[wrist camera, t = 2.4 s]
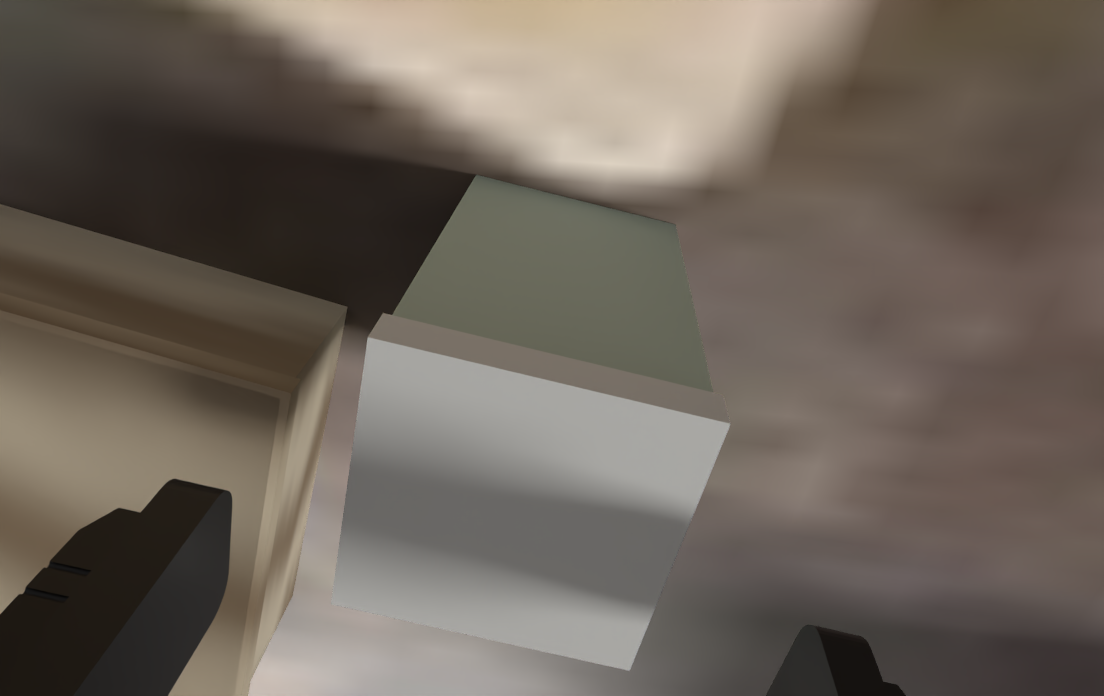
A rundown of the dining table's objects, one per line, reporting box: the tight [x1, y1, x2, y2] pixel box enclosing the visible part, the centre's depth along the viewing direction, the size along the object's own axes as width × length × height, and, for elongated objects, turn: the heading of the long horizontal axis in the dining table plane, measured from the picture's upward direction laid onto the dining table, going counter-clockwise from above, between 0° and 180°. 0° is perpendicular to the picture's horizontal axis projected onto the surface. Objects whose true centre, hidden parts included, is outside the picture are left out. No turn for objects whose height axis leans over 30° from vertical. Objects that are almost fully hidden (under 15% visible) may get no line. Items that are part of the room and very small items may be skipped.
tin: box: [331, 175, 731, 671], centre depth 16 cm, size 5×5×9 cm
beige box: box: [0, 204, 348, 696], centre depth 21 cm, size 11×11×5 cm
